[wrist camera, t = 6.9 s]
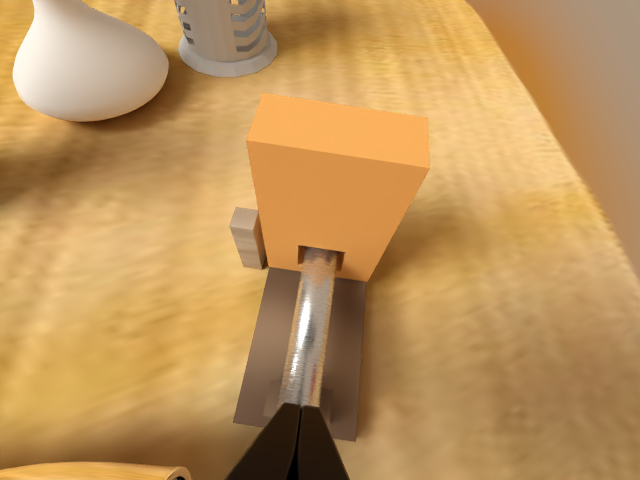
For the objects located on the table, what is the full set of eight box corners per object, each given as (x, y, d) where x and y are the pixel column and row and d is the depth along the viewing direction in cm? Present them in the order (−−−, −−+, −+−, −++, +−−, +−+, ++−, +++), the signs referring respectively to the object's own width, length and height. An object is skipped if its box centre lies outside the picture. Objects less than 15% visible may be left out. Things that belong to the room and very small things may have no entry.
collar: (367, 281, 19) (430, 168, 10) (268, 266, 19) (245, 139, 10) (369, 246, 20) (427, 117, 11) (276, 232, 20) (262, 93, 11)
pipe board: (352, 440, 16) (373, 449, 12) (201, 416, 16) (166, 417, 12) (368, 223, 23) (385, 178, 18) (260, 207, 23) (251, 157, 18)
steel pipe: (317, 424, 14) (320, 425, 13) (274, 417, 14) (272, 418, 13) (343, 204, 20) (348, 185, 18) (314, 199, 20) (315, 180, 18)
